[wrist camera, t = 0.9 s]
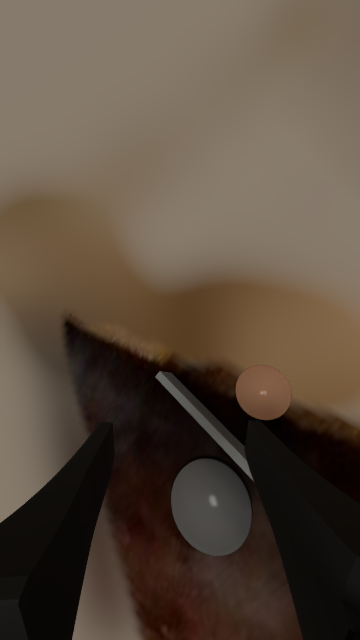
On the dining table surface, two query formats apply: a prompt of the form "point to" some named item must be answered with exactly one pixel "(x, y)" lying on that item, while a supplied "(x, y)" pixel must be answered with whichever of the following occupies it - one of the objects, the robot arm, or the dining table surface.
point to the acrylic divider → (205, 419)
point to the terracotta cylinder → (263, 392)
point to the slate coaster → (211, 506)
